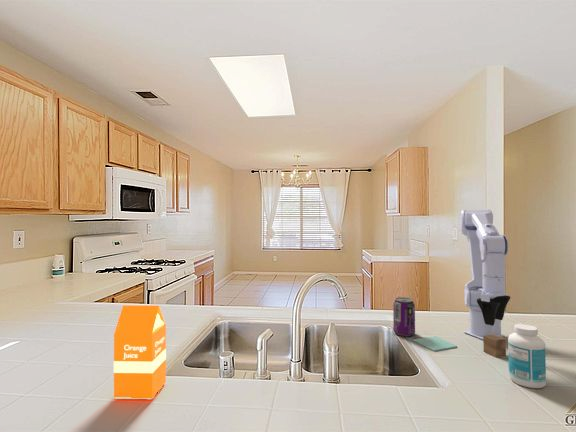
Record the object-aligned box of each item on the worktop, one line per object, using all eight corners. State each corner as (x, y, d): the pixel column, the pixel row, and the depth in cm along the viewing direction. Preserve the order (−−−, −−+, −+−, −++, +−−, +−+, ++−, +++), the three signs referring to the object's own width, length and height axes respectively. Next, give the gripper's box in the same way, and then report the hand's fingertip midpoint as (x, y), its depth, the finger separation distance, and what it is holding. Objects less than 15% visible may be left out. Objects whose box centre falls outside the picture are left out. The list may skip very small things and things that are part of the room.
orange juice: (130, 382, 81) (130, 301, 82) (166, 383, 81) (166, 301, 81) (113, 400, 74) (113, 310, 74) (152, 400, 73) (152, 310, 73)
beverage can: (416, 338, 111) (416, 302, 111) (394, 336, 112) (394, 301, 112) (413, 331, 118) (413, 297, 118) (392, 329, 119) (392, 296, 119)
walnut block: (493, 350, 100) (493, 334, 100) (506, 355, 97) (505, 338, 97) (483, 352, 99) (483, 335, 99) (495, 357, 95) (495, 340, 95)
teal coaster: (435, 337, 111) (435, 336, 111) (457, 347, 103) (457, 346, 103) (413, 340, 108) (413, 339, 108) (433, 351, 100) (433, 349, 100)
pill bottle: (539, 377, 83) (538, 323, 83) (551, 392, 76) (551, 333, 76) (504, 373, 86) (504, 320, 86) (513, 386, 79) (513, 330, 79)
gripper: (487, 271, 106) (487, 314, 106) (469, 277, 96) (469, 323, 96) (513, 274, 100) (513, 319, 100) (497, 280, 91) (497, 330, 91)
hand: (493, 321), depth 98 cm, fingers open, 7 cm apart
